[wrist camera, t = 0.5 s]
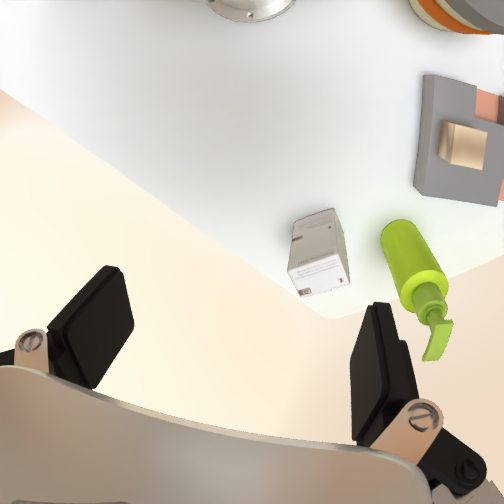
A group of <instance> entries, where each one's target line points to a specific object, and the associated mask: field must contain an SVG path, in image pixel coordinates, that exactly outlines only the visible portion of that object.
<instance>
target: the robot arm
mask: <svg viewBox="0 0 504 504" xmlns="http://www.w3.org/2000/svg"><path fill="white" fill-rule="evenodd" d="M205 1H206V3H207V4H208V5H209V6H210V7H211V8H212V9H213V10H214V11H215V12H217V13H218V14H220V15H222V16H224V17H226V18H228V19H231V20H234V21H240V22H258V21H264V20H267V19H270V18H273V17H275V16H277V15H279V14H281V13H283V12H284V11H285V10H287V9H288V8H289V7H290V6H291V5H292V4H293V3H294V2H295V1H296V0H215V1H214V2H212V0H205ZM250 15H253V17H252V18H250ZM47 329H48V332H47V333H45V332H44V331H42V330H40V329H31V330H28V331H26V332H24V333H23V334H21V335H20V336H19V338H18V339H17V341H16V344H15V349H11V350H8V351H5V352H1V353H0V504H504V497H503V496H502V494H501V493H500V491H499V490H498V488H497V487H496V486H495V484H494V483H493V481H492V480H491V481H490V482H488V480H487V479H486V478H485V477H486V473H487V468H486V464H485V462H484V460H483V458H482V457H481V456H480V455H478V454H477V453H476V452H474V451H473V450H472V449H471V448H469V447H468V446H467V445H465V444H464V443H462V442H461V441H460V440H459V439H457V438H456V437H455V436H453V435H452V434H451V433H449V432H448V431H447V430H445V429H444V428H443V427H442V425H443V414H442V411H441V410H440V408H439V407H438V406H437V405H436V404H435V403H433V402H432V401H429V400H426V399H419V395H418V389H417V384H416V380H415V375H414V371H413V366H412V362H411V358H410V354H409V350H408V346H407V343H406V341H405V340H399V338H398V333H397V329H396V325H395V321H394V318H393V314H392V310H391V306H390V304H389V303H383V302H374V303H373V305H368V307H367V310H366V313H365V316H364V319H363V322H362V326H361V329H360V332H359V335H358V338H357V341H356V344H355V347H354V349H353V352H352V355H351V359H350V380H351V411H352V440H353V441H357V446H355V445H345V444H336V443H326V442H325V443H324V442H315V441H305V440H297V439H288V438H281V437H274V436H267V435H259V434H254V433H248V432H242V431H236V430H231V429H226V428H221V427H216V426H212V425H207V424H203V423H198V422H194V421H189V420H186V419H182V418H178V417H173V416H170V415H166V414H163V413H159V412H156V411H152V410H149V409H145V408H142V407H139V406H135V405H132V404H129V403H126V402H123V401H120V400H117V399H114V398H112V397H109V396H106V395H103V394H100V393H97V392H95V391H92V389H94V388H96V387H97V385H98V384H99V383H100V381H101V379H102V378H103V376H104V375H105V373H106V371H107V370H108V368H109V367H110V365H111V363H112V362H113V360H114V359H115V357H116V356H117V354H118V353H119V351H120V350H121V348H122V347H123V345H124V343H125V342H126V340H127V339H128V337H129V336H130V334H131V333H132V331H133V329H134V319H133V315H132V311H131V307H130V302H129V298H128V294H127V289H126V284H125V280H124V275H123V273H122V272H121V271H120V269H119V268H118V267H114V266H108V265H106V266H104V267H103V268H101V269H100V270H99V271H98V272H97V273H96V274H95V276H94V277H93V278H92V279H91V280H90V281H89V282H88V283H87V284H86V285H85V286H84V287H83V288H82V289H81V290H80V291H79V292H78V293H77V294H76V295H75V296H74V297H73V299H72V300H71V301H70V302H69V303H68V304H67V305H66V306H65V307H64V308H63V310H62V311H61V312H60V313H59V314H58V315H57V316H56V317H55V318H54V319H53V320H52V321H51V323H50V324H49V325H48V326H47Z"/></svg>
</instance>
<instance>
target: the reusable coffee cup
mask: <svg viewBox="0 0 504 504" xmlns="http://www.w3.org/2000/svg"><path fill="white" fill-rule="evenodd" d="M409 2H410V5H411V6H412V8H413V10H414V11H415V12H416V14H417V15H418V16H419V17H420V18H421V19H422V20H423V21H424V22H426V23H427V24H429V25H430V26H432V27H434V28H437V29H439V30H444V31H455V32H458V33H463V34H487V35H490V34H502V35H504V0H409Z"/></svg>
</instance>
